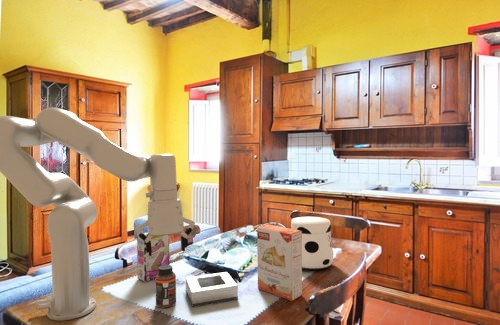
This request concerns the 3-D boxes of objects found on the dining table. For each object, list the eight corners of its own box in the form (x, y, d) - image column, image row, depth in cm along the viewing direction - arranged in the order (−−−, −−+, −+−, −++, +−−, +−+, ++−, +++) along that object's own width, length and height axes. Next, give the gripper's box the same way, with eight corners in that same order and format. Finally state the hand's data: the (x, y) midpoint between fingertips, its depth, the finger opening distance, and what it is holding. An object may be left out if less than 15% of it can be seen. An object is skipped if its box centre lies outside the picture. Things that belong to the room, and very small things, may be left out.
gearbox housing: (192, 307, 96) (192, 292, 96) (186, 291, 108) (185, 277, 107) (237, 299, 101) (237, 285, 101) (227, 284, 112) (227, 271, 112)
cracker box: (256, 289, 108) (256, 226, 107) (268, 283, 113) (267, 223, 112) (291, 302, 99) (291, 233, 98) (302, 295, 103) (302, 229, 102)
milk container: (341, 264, 130) (341, 219, 130) (318, 277, 118) (317, 227, 117) (304, 255, 142) (304, 214, 142) (280, 266, 130) (279, 220, 129)
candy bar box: (145, 283, 115) (144, 236, 114) (137, 280, 117) (135, 234, 117) (170, 273, 124) (169, 230, 123) (162, 270, 127) (161, 228, 126)
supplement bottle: (171, 309, 95) (170, 271, 95) (152, 308, 96) (151, 269, 96) (179, 300, 101) (178, 264, 101) (161, 298, 102) (160, 263, 102)
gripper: (133, 199, 91) (136, 260, 92) (195, 194, 97) (198, 252, 97) (133, 196, 98) (136, 252, 99) (191, 191, 104) (193, 245, 105)
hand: (166, 252), depth 98 cm, fingers open, 9 cm apart
